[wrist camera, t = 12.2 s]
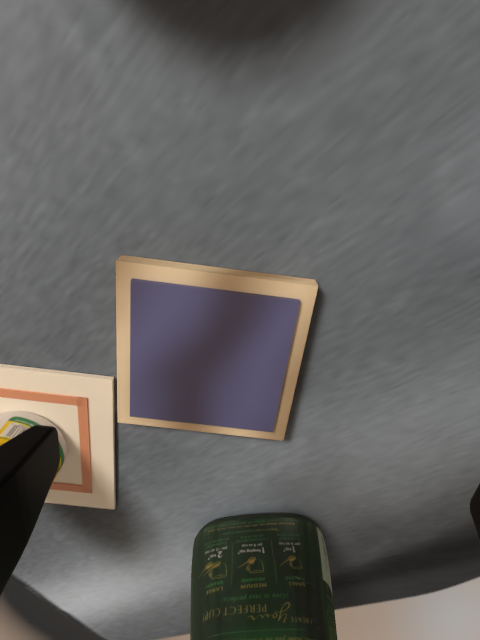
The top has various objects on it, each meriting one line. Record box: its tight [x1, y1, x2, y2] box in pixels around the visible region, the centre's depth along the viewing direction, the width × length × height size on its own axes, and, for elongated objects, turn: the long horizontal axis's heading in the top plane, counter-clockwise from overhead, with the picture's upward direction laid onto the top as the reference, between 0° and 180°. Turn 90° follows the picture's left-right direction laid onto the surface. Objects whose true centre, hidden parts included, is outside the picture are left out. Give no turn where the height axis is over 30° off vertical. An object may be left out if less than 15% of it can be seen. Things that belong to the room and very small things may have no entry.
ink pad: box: [116, 255, 318, 441], centre depth 21 cm, size 10×10×1 cm
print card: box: [0, 364, 116, 510], centre depth 25 cm, size 11×11×1 cm
